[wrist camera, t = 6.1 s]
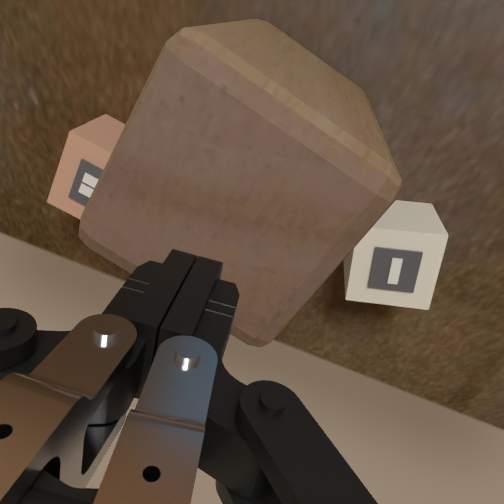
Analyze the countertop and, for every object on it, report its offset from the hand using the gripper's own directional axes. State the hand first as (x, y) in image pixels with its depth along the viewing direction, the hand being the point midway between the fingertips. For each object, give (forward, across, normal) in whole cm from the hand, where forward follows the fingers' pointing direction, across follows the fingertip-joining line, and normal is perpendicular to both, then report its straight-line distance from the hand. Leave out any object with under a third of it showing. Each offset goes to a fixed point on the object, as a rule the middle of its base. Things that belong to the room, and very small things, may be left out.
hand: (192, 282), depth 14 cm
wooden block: (+25, 0, 0) cm, 25 cm away
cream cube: (+25, -11, +7) cm, 28 cm away
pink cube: (+25, +11, +7) cm, 28 cm away
